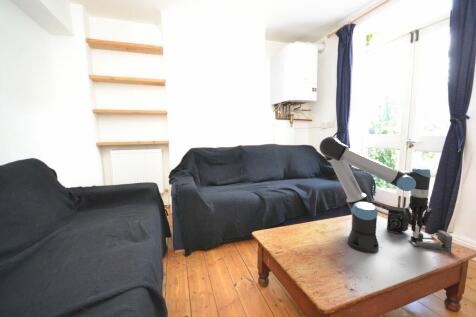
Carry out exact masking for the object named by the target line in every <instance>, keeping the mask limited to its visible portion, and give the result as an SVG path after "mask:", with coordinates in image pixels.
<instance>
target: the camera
mask: <svg viewBox="0 0 476 317" xmlns="http://www.w3.org/2000/svg"><path fill="white" fill-rule="evenodd" d="M387 209H388V210H387V224H386V231H387V232H390V233H395V234H399V235H403V233H405V232H406V231H407V230H409V225H410V224H409V223H408V221H407V216H406V212H405V210H404V208H403V207H400V206H399V207H398V206H392V205H391V206H390V205H389V206H388V208H387Z"/></svg>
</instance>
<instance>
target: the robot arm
mask: <svg viewBox="0 0 476 317" xmlns="http://www.w3.org/2000/svg"><path fill="white" fill-rule="evenodd" d="M319 151H320V153H321V155H323V156H324V158H325V160H326V162H327V163H330V165H331V167H332V168H333V171H334V173H335V174H336V176H337V179H338V181H339V183H340V185H341V186H342V190H343V191H344V192H345V195H346V197H347V198H346V201H345V202H346V203H347V205H348V207H349V209H350V212H351V230H350V232H349V234H348V236H347V239H346V240H347V245H348V246H349V247H350V248H351V249H354V250H356V251H359V252H361V253H362V252H363V253H369V254H370V253H371V254H373V253H377V252H378V251H379V250H380V249H379V248H380V245H379V241H378V238H377V234H376V233H377V221H378V208H377V206H376V205H374V204H373V203H372V202H371V201H370V199H369V197H368V195H367V194H366V193H364V192H362V190H361V188H360V186H359V183H358V181H357V179H356V177H355V176H354V173H353V172H352V169H351V168H350V166H352V167H354V168H357V169H358V170H361V171H363V172H365V173H367V174H369V175H371V176H373V177H375V178H377V179H380V180H382V181H385V183H387V184H390V185H393V186H395V187H396V188H398V189H399V190H401V191H402V192H403V191H404V192H410V193H409V194H410V195H409V203H408V205H407V206H403V207H402V208H404V210H405V212H406V216H407V221H408V223H409V225H410V226H411V229H410V230H411V231H412V236H413V237H415V238H418V235H419V232H421V231H422V228H423V227H425V226H426V225H427V224H428V221H429V219H430V216H431V214H432V213H433V211H434V210H433V209H432V208H429V205H428V203H429V194H430V192H429V191H430V183H431V169H430V168H427V167H413V168H412V169H411V170H397V169H395V168H392V167H391V166H388V165H386V164H384V163H382V162H379V161H378V160H375V159H373V158H370V157H368V156H366V155H364V154H361V153H359V152H357V151H354V150H352V149H350V147H349V146H348V145H346V144H344V143H342V142H341V140H340V139H338V137H335V136H328V137H326V138H323V139H322V140H321V141H320V143H319ZM349 165H350V166H349Z"/></svg>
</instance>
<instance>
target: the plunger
mask: <svg viewBox="0 0 476 317" xmlns="http://www.w3.org/2000/svg"><path fill="white" fill-rule="evenodd" d="M423 237H424V234H423V233H422V232H421V231H420V232H419V235H418V238H415V242H416V240H417V241H426V242H435V241H434V240H430V239H423Z"/></svg>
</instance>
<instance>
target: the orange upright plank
mask: <svg viewBox="0 0 476 317" xmlns="http://www.w3.org/2000/svg"><path fill="white" fill-rule="evenodd" d="M430 237H432V238H434V239H432V240H434V241H435V242H439V243H441V241H439V240H438V239H437V238H438V237H437V238H436V236H434V235H432V234H431V235H430Z"/></svg>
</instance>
